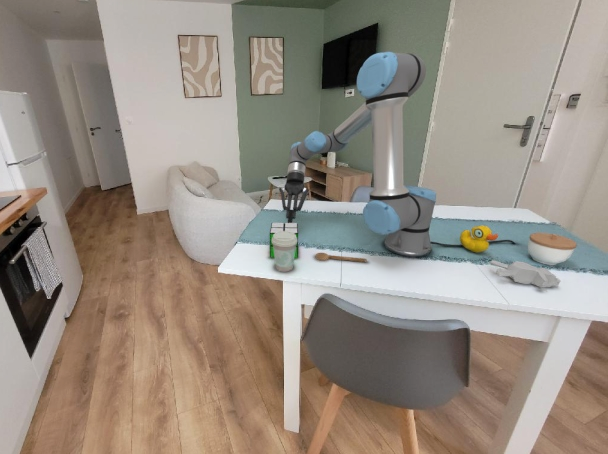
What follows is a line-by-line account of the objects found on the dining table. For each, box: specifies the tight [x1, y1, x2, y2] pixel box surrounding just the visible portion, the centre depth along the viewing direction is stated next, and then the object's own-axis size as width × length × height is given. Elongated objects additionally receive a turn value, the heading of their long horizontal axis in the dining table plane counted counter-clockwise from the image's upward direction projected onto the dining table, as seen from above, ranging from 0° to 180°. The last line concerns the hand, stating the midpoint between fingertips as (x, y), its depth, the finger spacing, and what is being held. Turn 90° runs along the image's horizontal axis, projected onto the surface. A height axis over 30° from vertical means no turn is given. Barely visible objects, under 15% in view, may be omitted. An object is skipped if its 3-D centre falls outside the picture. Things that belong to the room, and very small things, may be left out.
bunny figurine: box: [489, 259, 561, 288], centre depth 86 cm, size 10×5×15 cm
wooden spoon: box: [315, 252, 368, 263], centre depth 102 cm, size 17×4×1 cm, turn 73°
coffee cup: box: [272, 231, 299, 273], centre depth 97 cm, size 8×9×12 cm
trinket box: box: [527, 232, 578, 266], centre depth 94 cm, size 11×11×9 cm
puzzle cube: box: [269, 222, 299, 259], centre depth 108 cm, size 10×10×10 cm
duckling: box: [459, 225, 499, 253], centre depth 102 cm, size 11×5×10 cm, turn 17°
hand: (289, 225), depth 118 cm, fingers closed
